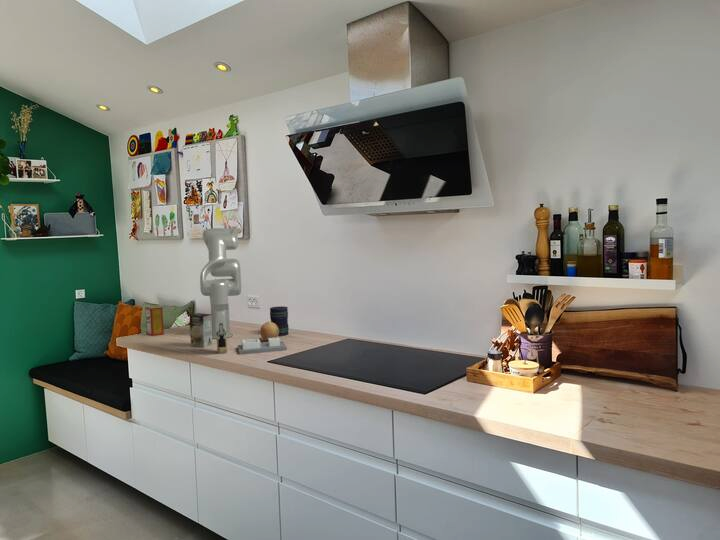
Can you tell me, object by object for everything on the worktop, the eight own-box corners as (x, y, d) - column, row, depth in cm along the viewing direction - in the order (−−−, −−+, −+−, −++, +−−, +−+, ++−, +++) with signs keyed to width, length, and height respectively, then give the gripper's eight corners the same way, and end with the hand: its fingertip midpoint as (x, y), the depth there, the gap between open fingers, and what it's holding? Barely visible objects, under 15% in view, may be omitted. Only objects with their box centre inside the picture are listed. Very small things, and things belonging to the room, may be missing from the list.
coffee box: (190, 346, 254) (188, 315, 253) (199, 343, 260) (197, 313, 259) (204, 347, 250) (202, 315, 249) (213, 345, 256) (211, 313, 255)
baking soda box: (163, 334, 288) (162, 306, 287) (152, 336, 284) (150, 308, 283) (158, 332, 296) (156, 305, 294) (146, 333, 291) (145, 306, 290)
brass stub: (217, 352, 240) (216, 331, 240) (226, 351, 242) (225, 330, 241) (217, 354, 236) (216, 333, 235) (227, 353, 237) (226, 332, 237)
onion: (275, 342, 257) (274, 323, 257) (257, 342, 259) (256, 323, 259) (282, 338, 267) (281, 320, 266) (264, 338, 269) (263, 320, 268)
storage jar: (292, 333, 280) (291, 307, 279) (280, 337, 272) (279, 309, 270) (278, 332, 285) (277, 306, 284) (266, 335, 277) (265, 308, 276)
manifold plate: (237, 348, 248) (237, 339, 247) (282, 344, 254) (282, 335, 254) (239, 354, 234) (238, 344, 234) (286, 350, 241) (286, 340, 240)
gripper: (211, 305, 244) (213, 343, 246) (211, 310, 228) (213, 350, 229) (227, 304, 246) (229, 341, 248) (229, 309, 230) (230, 349, 232)
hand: (221, 345), depth 239 cm, fingers closed on brass stub, 4 cm apart
